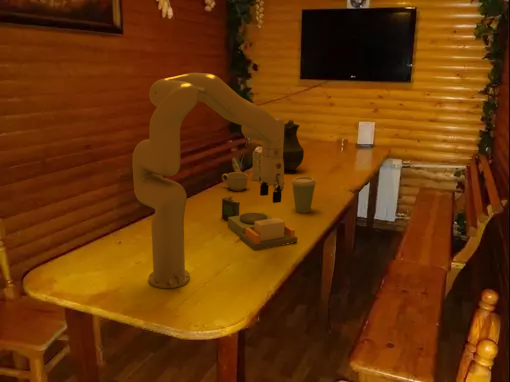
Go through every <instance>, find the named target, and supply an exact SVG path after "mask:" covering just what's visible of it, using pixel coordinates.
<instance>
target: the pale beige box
mask: <svg viewBox="0 0 510 382" xmlns="http://www.w3.org/2000/svg"><path fill="white" fill-rule="evenodd" d="M272 218H273V217H272ZM285 224H286V223H285V221H284V220H282V219H280V218H279V217H274V218H273V219H266V220H260V221H254V232H256V233H257V234H258V235H260V241H264V240H270V239H275V238H281V237H284V230H285Z"/></svg>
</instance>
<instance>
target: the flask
mask: <svg viewBox="0 0 510 382" xmlns="http://www.w3.org/2000/svg"><path fill="white" fill-rule="evenodd" d="M221 199H222V200H221V219H223V220H225V221H227V222H228V217H233V216H240V203H241V202H240V200H235V199H233V195H228V196H225V197H222V198H221Z"/></svg>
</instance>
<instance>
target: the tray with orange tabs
mask: <svg viewBox="0 0 510 382" xmlns="http://www.w3.org/2000/svg"><path fill="white" fill-rule="evenodd" d="M266 219H273V217H272V216H270V215H268V214H267V213H265V212H263V211H262V212H246V213H242V214H239V216H233V217H228V221H227V227H228V228H230V230H232V231H233V232H235V234H237V235H238V236H239V239H240V240H241V241H242V242H243V243H245V244H246V245H247V246H248V247H250V249H252V250H253V251H257V249H258V250H263V249H262V248H264V249H268V248H267V247H270V248H274V247H273V246H275V247H279V246H278V245H281V246H283V245H282V244H287V243H292V242H297V243H298V237H297V236H296V235H295V231H296V230H295V229H294V228H292V227H291V226H289V225H287V224H286V223H285V230H284V237H281V238H275V239H270V240H264V241H260V235H258V234H257V233H256V232H254V221H260V220H266ZM292 244H293V243H292ZM287 245H288V244H287Z"/></svg>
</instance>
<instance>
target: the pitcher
mask: <svg viewBox="0 0 510 382" xmlns="http://www.w3.org/2000/svg"><path fill="white" fill-rule="evenodd" d="M299 128H300V124H297V123H294V120H291V119H289V120H288V121H287V123H286V122H285V123H284V143H283V157H282V158H283V162H284V174H295V173H297V172H298V171H297V169H298V168H299V166H301V164H302V163H303V161H304V157H305V155H304V154H305V152H304V151H305V150H304V148H303V147H302V145H301V144H300V141H299V139H298V135H297V132H298V129H299Z"/></svg>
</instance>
